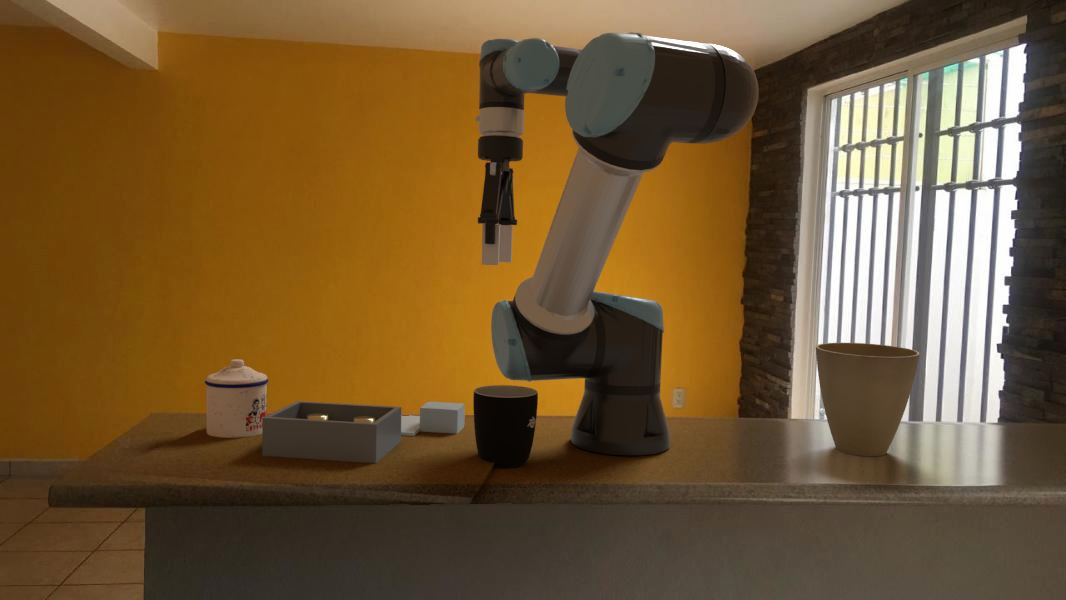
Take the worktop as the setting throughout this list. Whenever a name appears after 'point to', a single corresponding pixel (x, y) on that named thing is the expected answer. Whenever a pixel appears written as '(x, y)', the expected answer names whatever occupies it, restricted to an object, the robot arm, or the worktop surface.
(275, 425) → the tub
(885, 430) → the plant pot
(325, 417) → the part
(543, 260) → the robot arm
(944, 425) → the worktop surface
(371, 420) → the part
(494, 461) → the mug
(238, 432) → the teacup with lid
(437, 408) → the lid
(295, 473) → the worktop surface
